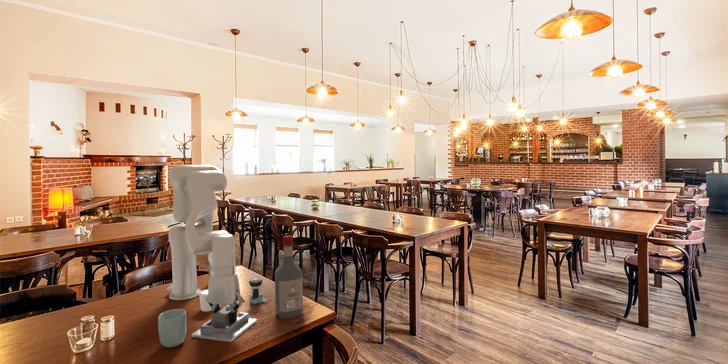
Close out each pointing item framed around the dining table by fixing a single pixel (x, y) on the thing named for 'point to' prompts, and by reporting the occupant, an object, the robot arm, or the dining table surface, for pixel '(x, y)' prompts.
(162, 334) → the cup
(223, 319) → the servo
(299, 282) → the liquor
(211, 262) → the syrup box
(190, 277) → the robot arm
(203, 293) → the white cylinder
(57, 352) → the dining table surface
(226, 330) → the plate
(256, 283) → the push button
